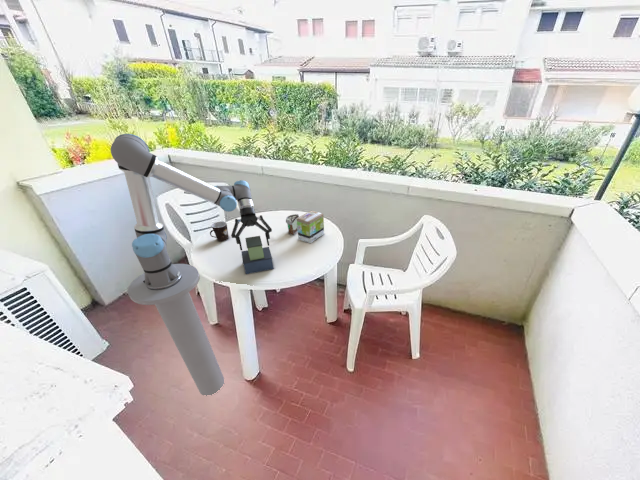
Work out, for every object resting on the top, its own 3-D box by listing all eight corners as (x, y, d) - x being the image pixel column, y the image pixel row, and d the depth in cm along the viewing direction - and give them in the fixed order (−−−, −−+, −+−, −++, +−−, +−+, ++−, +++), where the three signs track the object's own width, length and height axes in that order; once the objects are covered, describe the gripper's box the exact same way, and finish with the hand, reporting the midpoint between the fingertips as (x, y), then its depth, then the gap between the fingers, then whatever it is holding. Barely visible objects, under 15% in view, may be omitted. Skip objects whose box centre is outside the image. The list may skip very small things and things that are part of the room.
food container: (291, 226, 192) (289, 213, 186) (300, 227, 191) (298, 214, 185) (284, 235, 182) (282, 220, 176) (293, 236, 181) (291, 221, 175)
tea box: (310, 243, 173) (309, 221, 164) (297, 239, 177) (295, 218, 168) (324, 234, 184) (323, 213, 175) (312, 230, 188) (310, 209, 179)
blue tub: (245, 274, 145) (242, 263, 141) (244, 262, 155) (241, 251, 151) (274, 268, 150) (272, 257, 146) (270, 257, 159) (268, 246, 155)
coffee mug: (227, 234, 181) (223, 220, 176) (232, 239, 176) (229, 224, 171) (208, 240, 175) (204, 225, 169) (213, 245, 170) (209, 230, 164)
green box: (249, 260, 143) (246, 247, 139) (248, 251, 151) (245, 237, 147) (264, 258, 146) (262, 244, 141) (262, 248, 154) (259, 235, 149)
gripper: (270, 209, 157) (279, 245, 153) (222, 215, 149) (230, 253, 146) (270, 203, 149) (279, 240, 146) (220, 209, 142) (228, 249, 139)
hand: (255, 247), depth 146 cm, fingers open, 13 cm apart
